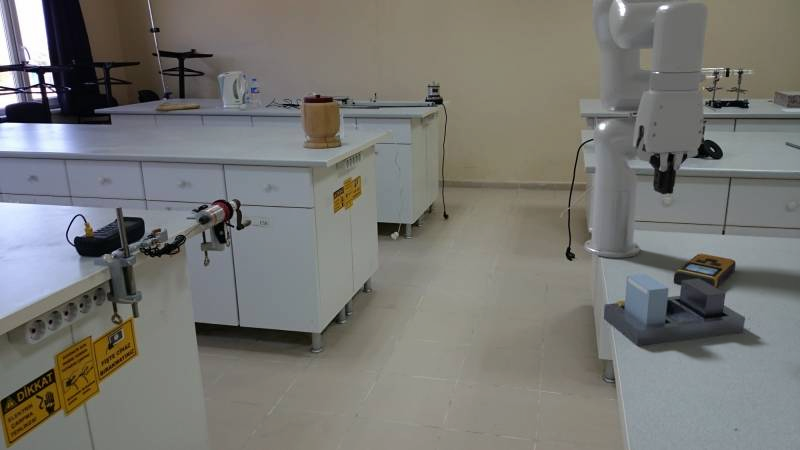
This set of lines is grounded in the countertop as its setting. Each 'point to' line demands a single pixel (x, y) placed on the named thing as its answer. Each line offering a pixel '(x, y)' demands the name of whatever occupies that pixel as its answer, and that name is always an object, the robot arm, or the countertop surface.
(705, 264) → the electronic device
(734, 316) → the rack
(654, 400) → the countertop surface
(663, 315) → the light blue block
